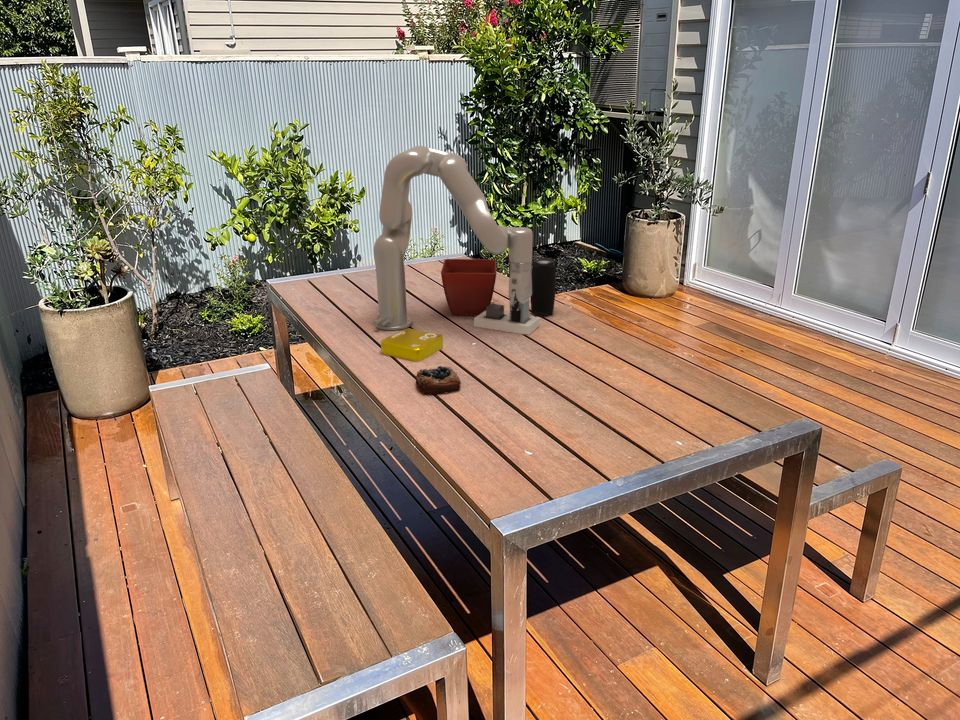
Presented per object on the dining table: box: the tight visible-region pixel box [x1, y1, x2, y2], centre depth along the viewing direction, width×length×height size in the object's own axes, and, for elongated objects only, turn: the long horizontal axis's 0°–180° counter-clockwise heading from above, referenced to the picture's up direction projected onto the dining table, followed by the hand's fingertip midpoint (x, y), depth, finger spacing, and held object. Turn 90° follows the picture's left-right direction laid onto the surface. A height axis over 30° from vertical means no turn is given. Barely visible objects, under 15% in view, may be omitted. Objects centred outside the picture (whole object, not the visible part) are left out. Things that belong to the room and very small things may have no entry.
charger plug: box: [509, 298, 530, 324], centre depth 236 cm, size 5×5×9 cm
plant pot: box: [440, 258, 497, 317], centre depth 253 cm, size 19×19×17 cm
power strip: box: [473, 302, 541, 336], centre depth 242 cm, size 18×20×7 cm
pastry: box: [415, 365, 462, 396], centre depth 193 cm, size 11×12×6 cm
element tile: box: [380, 327, 444, 362], centre depth 219 cm, size 15×15×5 cm
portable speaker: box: [529, 257, 557, 318], centre depth 249 cm, size 9×9×20 cm
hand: (519, 318), depth 237 cm, fingers closed on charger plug, 5 cm apart
